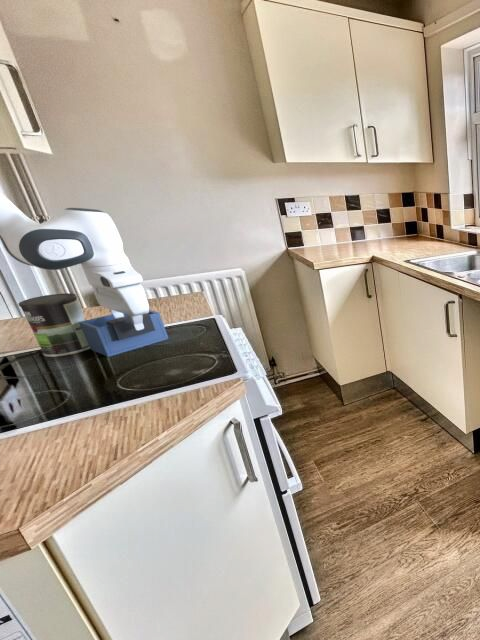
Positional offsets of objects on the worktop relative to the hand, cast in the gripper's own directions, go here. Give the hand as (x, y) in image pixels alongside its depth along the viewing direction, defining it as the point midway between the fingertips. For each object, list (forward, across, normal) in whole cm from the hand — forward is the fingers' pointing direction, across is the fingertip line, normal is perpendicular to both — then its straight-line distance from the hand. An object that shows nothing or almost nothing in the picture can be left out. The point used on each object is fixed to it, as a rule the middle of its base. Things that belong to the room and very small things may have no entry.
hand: (130, 326), depth 111 cm
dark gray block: (+2, 0, 0) cm, 2 cm away
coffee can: (+6, -15, -9) cm, 19 cm away
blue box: (+6, -5, 0) cm, 8 cm away
